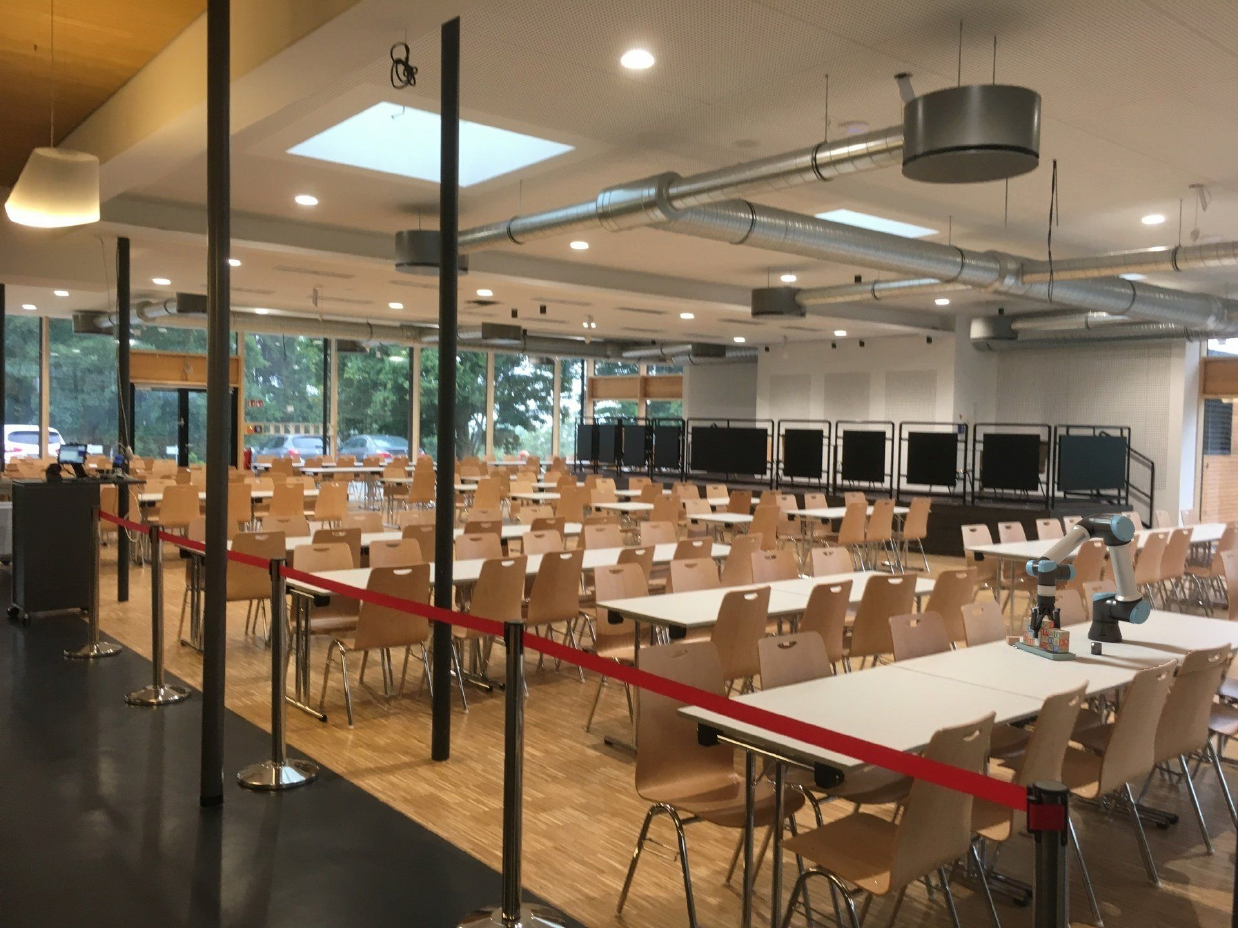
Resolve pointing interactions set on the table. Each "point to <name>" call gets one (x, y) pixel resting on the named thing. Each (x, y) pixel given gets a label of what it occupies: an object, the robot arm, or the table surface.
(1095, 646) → the metal cylinder
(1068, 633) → the stack of blocks
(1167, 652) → the table surface
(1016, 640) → the terracotta block
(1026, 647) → the tray
